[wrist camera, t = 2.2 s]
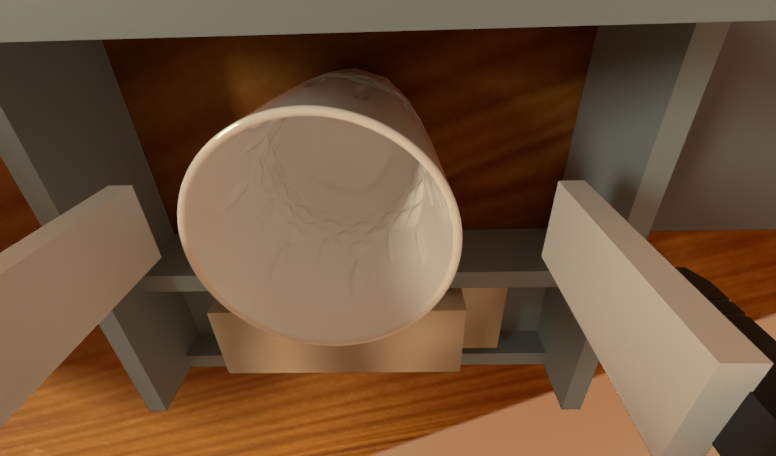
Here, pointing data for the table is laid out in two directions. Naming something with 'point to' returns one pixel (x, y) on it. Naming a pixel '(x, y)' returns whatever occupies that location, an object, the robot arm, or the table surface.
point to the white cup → (323, 214)
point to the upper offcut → (391, 354)
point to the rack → (342, 15)
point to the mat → (730, 142)
